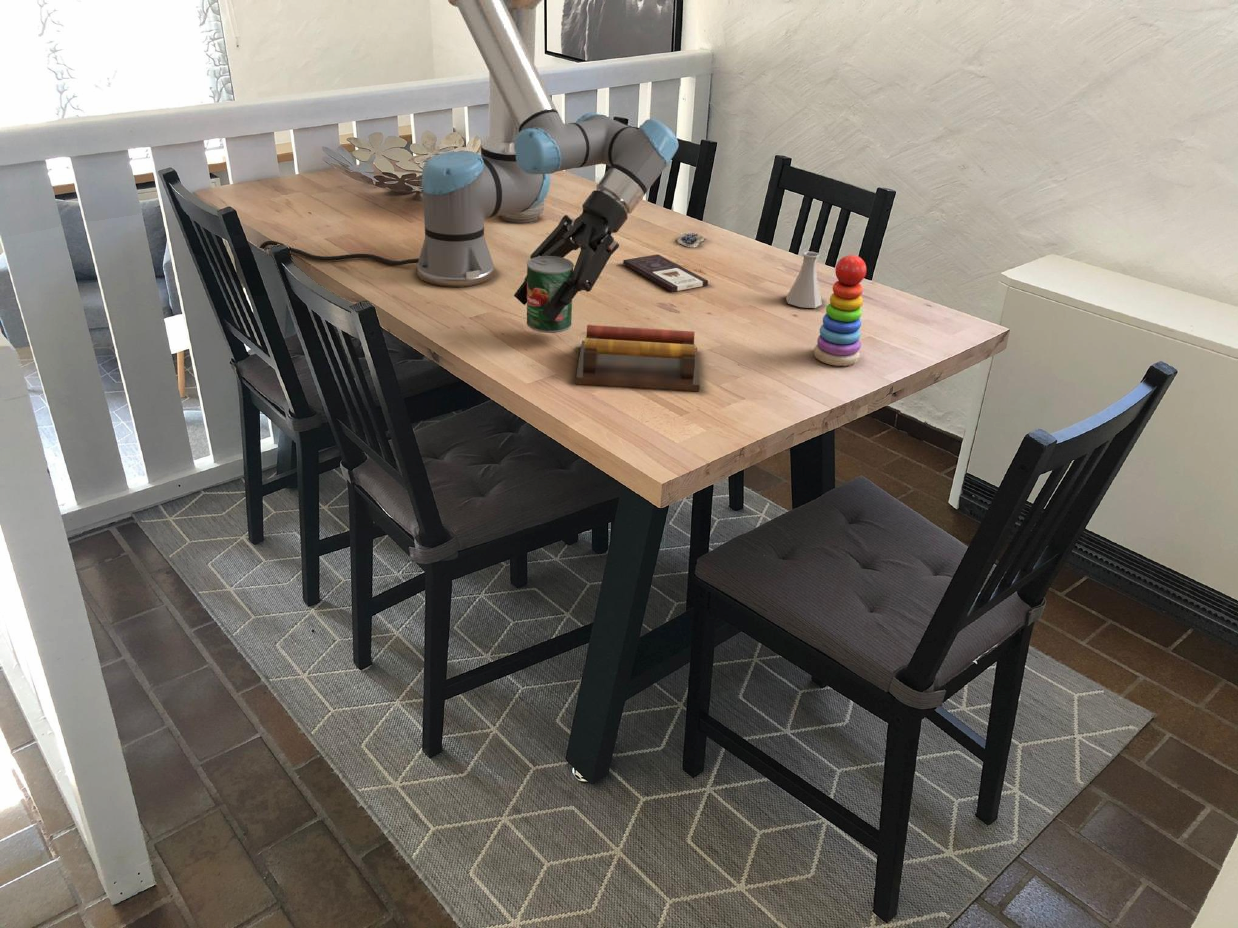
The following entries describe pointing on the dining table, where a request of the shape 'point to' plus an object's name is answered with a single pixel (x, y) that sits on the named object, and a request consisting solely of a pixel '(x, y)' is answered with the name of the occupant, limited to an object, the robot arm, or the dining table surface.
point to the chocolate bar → (665, 272)
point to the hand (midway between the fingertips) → (533, 308)
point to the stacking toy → (843, 315)
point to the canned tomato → (547, 292)
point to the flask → (806, 284)
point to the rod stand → (639, 358)
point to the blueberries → (690, 239)
